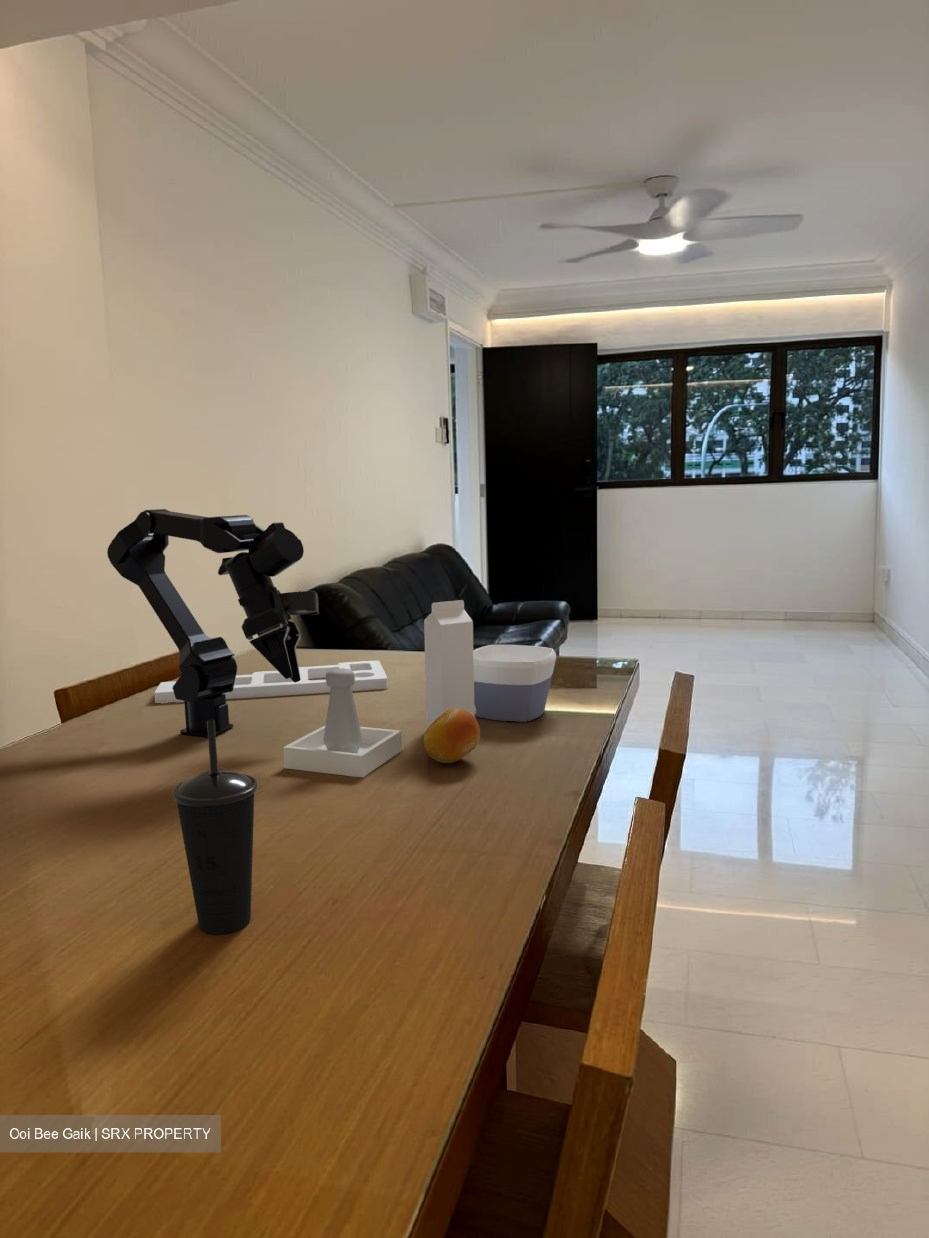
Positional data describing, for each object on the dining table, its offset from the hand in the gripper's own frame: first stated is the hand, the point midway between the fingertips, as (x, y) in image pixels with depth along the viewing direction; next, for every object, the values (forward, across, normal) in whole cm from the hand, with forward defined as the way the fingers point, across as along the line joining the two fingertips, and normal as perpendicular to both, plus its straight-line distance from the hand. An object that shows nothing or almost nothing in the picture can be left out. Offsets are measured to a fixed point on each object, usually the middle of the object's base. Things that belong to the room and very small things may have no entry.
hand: (293, 679), depth 135 cm
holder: (-5, +46, +9) cm, 47 cm away
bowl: (+19, +19, -31) cm, 41 cm away
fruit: (+22, -5, -17) cm, 28 cm away
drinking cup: (+25, -48, +10) cm, 55 cm away
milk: (+18, +9, -19) cm, 28 cm away
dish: (+14, -2, -3) cm, 15 cm away
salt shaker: (+14, -2, -3) cm, 14 cm away
